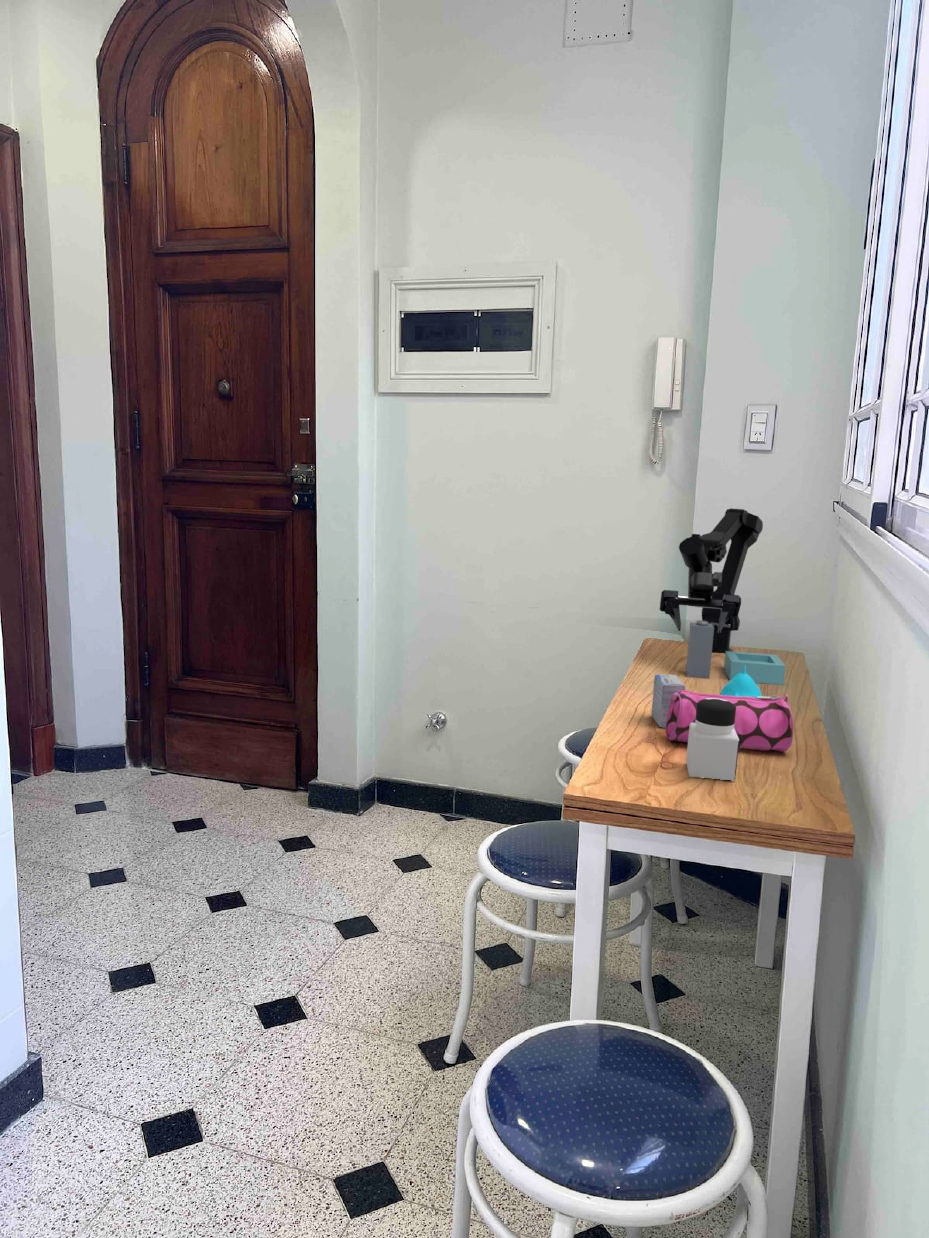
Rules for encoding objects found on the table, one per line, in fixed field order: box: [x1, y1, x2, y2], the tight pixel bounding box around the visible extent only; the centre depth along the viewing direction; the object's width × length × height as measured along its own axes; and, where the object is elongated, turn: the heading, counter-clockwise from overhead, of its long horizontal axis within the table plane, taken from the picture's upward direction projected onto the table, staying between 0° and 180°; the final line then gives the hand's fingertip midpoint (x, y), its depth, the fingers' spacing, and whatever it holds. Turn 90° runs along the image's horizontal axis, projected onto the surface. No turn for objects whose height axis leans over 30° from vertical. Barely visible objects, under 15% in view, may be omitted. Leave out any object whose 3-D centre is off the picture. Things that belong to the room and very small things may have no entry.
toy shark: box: [719, 665, 763, 697], centre depth 175 cm, size 10×18×11 cm, turn 172°
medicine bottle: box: [685, 698, 740, 782], centre depth 142 cm, size 7×7×12 cm
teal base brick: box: [723, 650, 786, 686], centre depth 210 cm, size 12×12×4 cm
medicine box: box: [651, 673, 686, 729], centre depth 169 cm, size 8×4×9 cm, turn 179°
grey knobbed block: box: [685, 619, 714, 679], centre depth 208 cm, size 5×5×13 cm
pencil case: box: [665, 689, 794, 753], centre depth 157 cm, size 21×10×10 cm, turn 85°
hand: (699, 631), depth 210 cm, fingers open, 9 cm apart
